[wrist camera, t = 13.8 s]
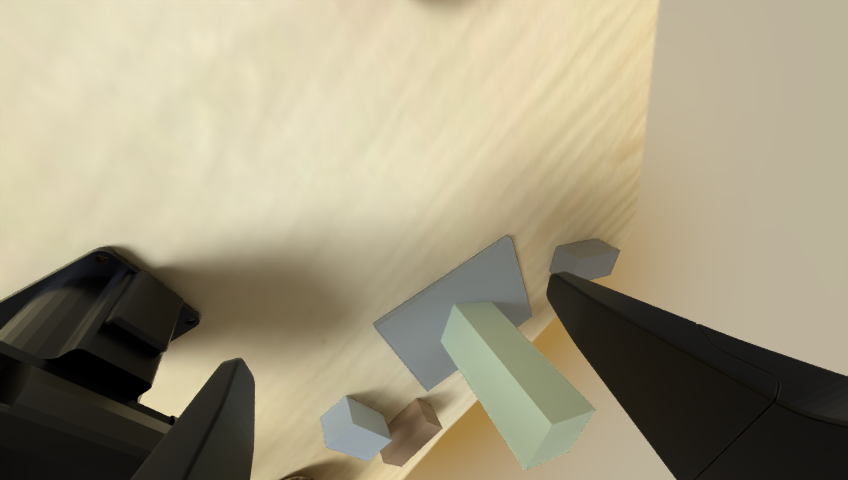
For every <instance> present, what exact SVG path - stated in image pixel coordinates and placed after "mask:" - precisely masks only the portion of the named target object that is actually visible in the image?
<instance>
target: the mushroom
mask: <svg viewBox="0 0 848 480" xmlns="http://www.w3.org/2000/svg"><path fill="white" fill-rule="evenodd" d="M283 480H314V479H313V478H307V477H300V476H296V477H292V478H288V479H283Z"/></svg>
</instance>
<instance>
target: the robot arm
mask: <svg viewBox="0 0 848 480" xmlns="http://www.w3.org/2000/svg"><path fill="white" fill-rule="evenodd" d="M98 255H104V256H106V257H107V258H108V260H102V259H100V258H99V257H98ZM546 294H547V298H548V301H549V302H550V304H551V306H552V307H553V309H554V311H555V312H556V314H557V316H558V317H559V319H560V321H561V322H562V324H563V326H564V327H565V329H566V331H567V332H568V334H569V335H570V337H571V338H572V340H573V342H574V343H575V344H576V346H577V347H578V349H579V350H580V351H581V353H582V354H583V355H584V357H585V358H586V359H587V361H588V362H589V363H590V365H591V366H592V367H593V369H594V370H595V371H596V373H597V374H598V375H599V377H600V378H601V379H602V381H603V382H604V383H605V384H606V386H607V387H608V389H609V390H610V391H611V393H612V394H613V395H614V397H615V398H616V399H617V401H618V402H619V403H620V405H621V406H622V407H623V409H624V410H625V411H626V413H627V414H628V415H629V417H630V418H631V419H632V421H633V422H634V423H635V425H636V426H637V427H638V429H639V430H640V432H641V433H642V434H643V435H644V437H645V438H646V439H647V441H648V442H649V444H650V445H651V446H652V448H653V449H654V450H655V451H656V453H657V454H658V456H659V457H660V458H661V460H662V461H663V462H664V464H665V465H666V466H667V468H668V469H669V470H670V472H671V473H672V474H673V476H674V477H675V478H676V479H677V480H848V376H845V375H841V374H839V373H835V372H833V371H830V370H827V369H823V368H821V367H818V366H815V365H812V364H809V363H806V362H803V361H800V360H797V359H794V358H791V357H788V356H785V355H783V354H780V353H777V352H774V351H770V350H768V349H765V348H762V347H759V346H756V345H753V344H751V343H748V342H745V341H742V340H739V339H737V338H734V337H731V336H729V335H726V334H724V333H721V332H718V331H716V330H713V329H710V328H708V327H706V326H703V325H701V324H696V323H695V322H693V321H690V320H688V319H685V318H683V317H680V316H678V315H675V314H673V313H670V312H668V311H665V310H662V309H660V308H658V307H655V306H652V305H650V304H647V303H645V302H642V301H640V300H637V299H635V298H632V297H630V296H627V295H624V294H622V293H620V292H617V291H614V290H612V289H609V288H607V287H604V286H602V285H599V284H597V283H594V282H592V281H589V280H587V279H584V278H582V277H579V276H576V275H574V274H571V273H569V272H566V271H559V272H556V273H552V274H551V275H550V278H549V283H548V287H547V292H546ZM188 318H192V319H194V320H192V321H189V320H187V319H188ZM200 319H201V315H200V314H199V313H198V312H197V311H196V310H194V309H193V308H191V307H190V306H189V305H187V304H186V303H185V302H183V299H182V298H181V297H180V296H179V295H177V294H176V293H175V292H173V291H172V290H171V289H169V288H168V287H167V286H165V285H164V284H163V283H161V282H160V281H158V280H157V279H156V278H154V277H153V276H152V275H150V274H149V273H148V272H143V271H141V270H140V269H139V268H137V267H136V266H135V265H133V264H132V263H131V262H129V261H128V260H126V259H125V258H124V257H122V256H121V255H120V254H118V253H117V252H116V251H114V250H112V249H110V248H106V247H99V248H96V249H94V250H92V251H90V252H89V253H87V254H85V255H83V256H81V257H79V258H78V259H76V260H74V261H72V262H70V263H68V264H67V265H65V266H63V267H61V268H59V269H57V270H56V271H54V272H52V273H50V274H48V275H46V276H45V277H43V278H41V279H39V280H37V281H35V282H34V283H32V284H30V285H28V286H26V287H24V288H23V289H21V290H19V291H17V292H15V293H13V294H11V295H10V296H8V297H6V298H4V299H2V300H0V480H250V476H251V468H252V460H253V451H254V421H255V381H254V377H253V375H252V373H251V372H250V370H249V368H248V367H247V365H246V363H245V362H244V360H243V359H242V358H235V359H231V360H228V361H225V362H223V363H222V364H220V366H219V367H218V368H217V369H216V371H215V372H214V373H213V374H212V376H211V377H210V378H209V380H208V381H207V382H206V383H205V385H204V386H203V387H202V389H201V390H200V391H199V392H198V394H197V395H196V396H195V397H194V399H193V400H192V401H191V403H190V404H189V405H188V406H187V408H186V409H185V410H184V412H183V413H182V414H181V415H180V417H179V418H177V417H175V416H170V417H169V416H166V415H164V414H162V413H160V412H158V411H155V410H153V409H151V408H149V407H147V406H144V405H142V404H140V403H139V402H140V399H141V396H142V394H143V393H145V392H146V391H148V390H149V389H150V388H151V387H152V384H153V381H154V379H155V376H156V373H157V370H158V367H159V364H160V361H161V358H162V355H163V353H164V352H165V351H167V349H168V346H169V343H170V342H171V341H173V340H174V339H176V338H178V337H179V336H181V335H183V334H184V333H186V332H188V331H189V330H191V329H192V328H194V327H196V326H197V325H198V324H199V322H200Z"/></svg>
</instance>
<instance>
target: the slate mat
mask: <svg viewBox="0 0 848 480" xmlns="http://www.w3.org/2000/svg"><path fill="white" fill-rule="evenodd" d="M476 302H492V303H493V304H494V305H495V306H496V307H497V308H498V309H499V310H500V311H501V312H502V313H503V314H504V315H505V316H506V317H507V318H508V319H509V321H510V322H511V323H512V324H513V325H514V326H515V327H518V326H519V325H521V324H522V323H523V322H525V321H526V320H528V319H529V318H530V317H532V313H531V310H530V306H529V302H528V298H527V295H526V291H525V287H524V283H523V280H522V276H521V272H520V269H519V265H518V261H517V257H516V254H515V250H514V246H513V242H512V239H511V237H509V236H508V235H506V236H504V237H503V238H501V239H500V240H498V241H497V242H495V243H494V244H492V245H491V246H489V247H488V248H486V249H485V250H483V251H482V252H480V253H479V254H477V255H476V256H474V257H473V258H471V259H470V260H468V261H467V262H465V263H464V264H462V265H461V266H459V267H458V268H456V269H455V270H453V271H452V272H450V273H449V274H447V275H446V276H444V277H443V278H441V279H440V280H438V281H437V282H435V283H433V284H432V285H430V286H429V287H427V288H426V289H424V290H423V291H421V292H420V293H418V294H417V295H415V296H414V297H412V298H411V299H409V300H408V301H406V302H405V303H403V304H402V305H400V306H399V307H397V308H396V309H394V310H393V311H391V312H390V313H388V314H387V315H385V316H384V317H382V318H381V319H379V320H378V321H376V322H375V323H373V324H374V326H375V329H376V330H377V331H378V332H379V333H380V335H381V336H382V337H383V338H384V340H385V341H386V342H387V343H388V344H389V346H390V347H391V348H392V349H393V351H394V352H395V353H396V354H397V355H398V357H399V358H400V359H401V360H402V362H403V363H404V364H405V365H406V366H407V368H408V369H409V370H410V371H411V373H412V374H413V375H414V376H415V377H416V379H417V380H418V381H419V382H420V384H421V385H422V386H423V387H424V388H425V390H426V391H429V390H430V389H432V388H433V387H434V386H436V385H437V384H439V383H440V382H441V381H443V380H444V379H446V378H447V377H448V376H450V375H451V374H452V373H454V372H455V371H457V370H458V368H457V366H456V365H455V363H454V362H453V360H452V358H451V357H450V355H449V354H448V352H447V351H446V349H445V348H444V346H443V345H442V343H441V342H440V341H441V338H442V335H443V333H444V330H445V327H446V324H447V322H448V319H449V316H450V313H451V310H452V308H453V305H454V304H457V303H476Z"/></svg>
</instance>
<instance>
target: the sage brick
mask: <svg viewBox="0 0 848 480" xmlns="http://www.w3.org/2000/svg"><path fill="white" fill-rule="evenodd" d="M440 342H441V343H442V345H443V346H444V348H445V349H446V351H447V352H448V354H449V355H450V357H451V358H452V360H453V362H454V363H455V365H456V366H457V368H458V369H459V371H460V372H461V374H462V375H463V377H464V378H465V380H466V382H467V383H468V385H469V386H470V388H471V389H472V391H473V392H474V394H475V395H476V397H477V398H478V400H479V401H480V403H481V405H482V406H483V408H484V409H485V410H486V412H487V414H488V415H489V417H490V418H491V420H492V422H493V423H494V425H495V426H496V428H497V429H498V431H499V432H500V434H501V435H502V437H503V438H504V440H505V442H506V443H507V445H508V446H509V447H510V449H511V451H512V452H513V454H514V455H515V457H516V458H517V460H518V462H519V463H520V465H521V466H522V468H523V469H524V471H525V470H528V469H530V468H532V467H534V466H537V465H539V464H542V463H544V462H546V461H549V460H551V459H553V458H556V457H558V456H560V455H563V454H565V453H567V452H569V450H570V449H571V447H572V446H573V444H574V443H575V441H576V440H577V438H578V437H579V435H580V434H581V432H582V431H583V429H584V428H585V426H586V424H587V423H588V422H589V420H590V418H591V417H592V415H593V414H594V412H595V411H596V409H595V408H594V407H593V406H592V405H591V404H590V403H589V402H588V400H586V399H585V397H584V396H583V395H581V393H580V392H579V391H578V390H577V389H576V388H575V387H574V386H573V385H572V384H571V383H570V382H569V381H568V380H567V379H566V378H565V377H564V376H563V375H562V374H561V373H560V372H559V371H558V370H557V369H556V368H555V367H554V366H553V365H552V364H551V363H550V361H548V360H547V358H546V357H545V356H544V355H543V354H542V353H541V352H540V351H539V350H538V349H537V348H536V347H535V346H534V345H533V344H532V343H531V342H530V341H529V340H528V339H527V338H526V337H525V336H524V335H523V334H522V333H521V332H520V331H519V330H518V329H517V328H516V327H515V326H514V325H513V324H512V323H511V322H510V321H509V319H508V318H507V317H506V316H505V315H504V314H503V313H502V312H501V311H500V310H499V309H498V308H497V307H496V306H495V305H494V304H493V303H492V302H476V303H457V304H454V305H453V308H452V310H451V313H450V316H449V319H448V322H447V324H446V327H445V330H444V333H443V335H442V338H441V341H440Z"/></svg>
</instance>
